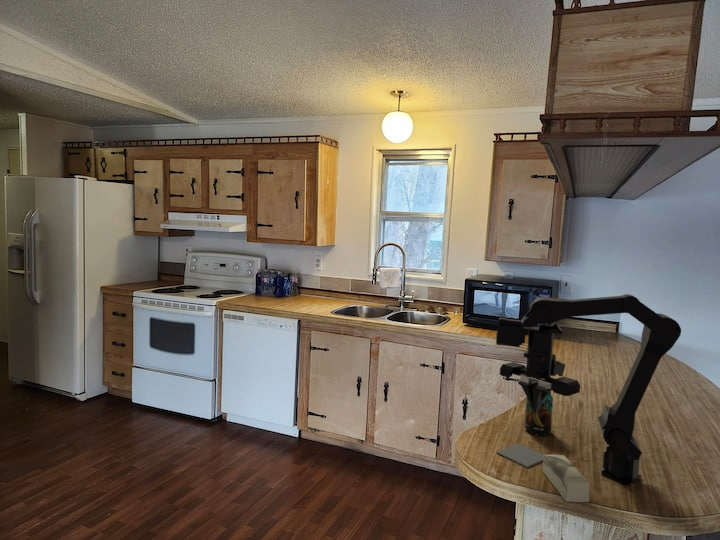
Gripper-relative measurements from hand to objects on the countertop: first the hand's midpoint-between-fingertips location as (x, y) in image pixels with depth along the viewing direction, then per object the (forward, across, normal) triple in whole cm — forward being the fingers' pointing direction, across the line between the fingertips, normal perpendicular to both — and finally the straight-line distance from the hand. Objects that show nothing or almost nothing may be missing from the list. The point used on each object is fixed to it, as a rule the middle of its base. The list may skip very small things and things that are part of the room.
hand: (535, 412), depth 117 cm
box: (+10, -6, +1) cm, 12 cm away
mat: (+12, +3, 0) cm, 13 cm away
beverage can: (+13, +10, -17) cm, 23 cm away
